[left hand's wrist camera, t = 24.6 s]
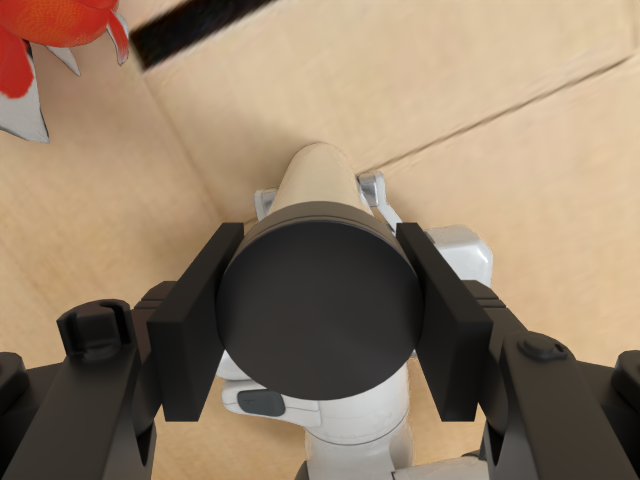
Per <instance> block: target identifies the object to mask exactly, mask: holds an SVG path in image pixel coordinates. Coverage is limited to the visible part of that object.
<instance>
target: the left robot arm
mask: <svg viewBox="0 0 640 480" xmlns="http://www.w3.org/2000/svg"><path fill="white" fill-rule="evenodd" d="M395 238H396V239H397V240H398V242H399V244H400V245H401V247H402V249H403V251H404V253H405V254H406V256H407V258H408V260H409V262H410V264H411V265H412V267H413V269H414V271H415V273H416V275H417V276H418V279H419V282H420V284H421V287H422V291H423V296H424V302H425V311H424V320H423V328H422V333H421V336H420V339H419V341H418V343H417V346H416V348H415V351H416V354H417V357H418V359H419V362H420V365H421V367H422V370H423V373H424V375H425V378H426V381H427V383H428V386H429V389H430V391H431V394H432V397H433V399H434V402H435V405H436V407H437V410H438V413H439V415H440V418H441V421H442V422H474V420H475V415H476V410H477V405H478V402H479V404H480V406H481V408H482V410H483V412H484V414H485V416H486V422H485V427H484V432H483V436H482V441H481V446H480V451H479V457H478V460H481V461H483V460H484V456H485V453H486V458H487V465H488V473H489V480H640V351H639V350H631V351H624V352H623V353H622V354H620V355H619V356H618V359H617V362H616V365H615V368H612V367H607V366H602V365H596V364H591V363H586V362H581V361H577V360H576V359H575V357H574V355H573V354H572V352H571V351H570V350H569V349H568V348H567V347H566V346H565V345H563V344H562V343H560V342H559V341H557V340H556V339H553V338H551V337H549V336H546V335H544V334H540V333H536V332H532V331H528V330H527V329H526V328H525V327H524V325H523V324H522V323H521V322H520V321H519V320H518V319H517V318H516V316H515V315H514V314H513V313H512V312H511V311H510V310H509V309H508V308H506V305H505V304H504V303H503V302H502V301H501V300H499V297H498V296H497V295H496V294H495V293H494V292H493V291H492V290H491V289H490V288H489V287H487V286H486V285H484V284H482V283H480V282H479V281H477V280H461V279H460V278H459V277H458V275H457V274H456V273H455V271H454V270H453V269H452V268H451V266H450V265H449V264H448V262H447V261H446V260H445V259H444V257H443V256H442V255H441V253H440V252H439V251H438V250H437V248H436V247H435V246H434V244H433V243H432V242H431V241H430V239H429V238H428V237H427V235H426V234H425V233H424V231H423V230H422V229H421V228H420V226H419V225H418V224H417V223H396V235H395ZM243 239H244V225H243V223H222V225H221V226H220V227H219V229H218V230H217V231H216V232H215V234H214V235H213V236H212V238H211V239H210V240H209V241H208V243H207V244H206V245H205V247H204V248H203V249H202V251H201V252H200V253H199V254H198V256H197V257H196V258H195V260H194V261H193V262H192V263H191V265H190V266H189V267H188V269H187V270H186V271H185V272H184V274H183V275H182V276H181V278H180V279H179V280H178V281H163V282H162V283H160V284H158V285H157V286H155V287H153V288H151V289H150V290H149V291H148V292H147V293H146V294H145V295H144V297H143V298H142V299H141V301H139V302H138V303H137V304H136V306H135V307H134V309H132V310H130V305H129V304H128V303H126V302H125V301H123V300H117V299H102V300H97V301H92V302H88V303H85V304H82V305H80V306H77V307H74V308H73V309H71V310H69V311H67V312H66V313H64V314H63V315H62V316H61V317H60V318H59V319H58V320H57V321H56V322H57V325H58V328H59V332H60V335H61V338H62V341H63V345H64V348H65V351H66V355H67V356H66V357H65V359H64V361H63V362H61V363H57V364H52V365H47V366H42V367H37V368H32V369H27V370H26V369H25V366H24V363H23V360H22V357H20V356H19V355H18V354H16V353H11V352H0V480H151V474H152V466H153V459H154V451H155V444H156V437H157V434H156V427H155V422H154V417H155V416H156V414H157V412H158V410H159V408H160V406H161V404H162V406H163V411H164V416H165V421H166V422H198V420H199V417H200V415H201V412H202V409H203V407H204V404H205V401H206V399H207V396H208V393H209V391H210V388H211V385H212V383H213V380H214V377H215V375H216V372H217V369H218V367H219V364H220V361H221V359H222V356H223V354H224V351H225V348H224V346H223V344H222V342H221V339H220V337H219V333H218V330H217V322H216V313H215V300H216V295H217V290H218V287H219V284H220V281H221V278H222V276H223V274H224V272H225V270H226V269H227V267H228V265H229V263H230V261H231V259H232V258H233V256H234V254H235V252H236V250H237V248H238V247H239V245H240V243H241V241H242V240H243Z"/></svg>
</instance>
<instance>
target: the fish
mask: <svg viewBox="0 0 640 480" xmlns="http://www.w3.org/2000/svg"><path fill="white" fill-rule="evenodd" d="M118 5H119V0H0V130H3V131H6V132H8V133H10V134H13V135H15V136H17V137H20V138H22V139H24V140H29V141H36V142H43V143H49V135H48V131H47V128H46V125H45V122H44V119H43V116H42V113H41V109H40V102H39V95H38V88H37V82H36V76H35V70H34V63H33V57H32V50H31V46H30V43H29V41H31V42H34V43H37V44H42V45H45V46H46V47H47V48H48V49H49V50H50V51H51V52H52V53H53V54H55V55H56V56H57V57H58V58H59V59H60V60H62V61H63V62H64V63H65V64H66V65H67V66H68V67H69V68H70V69H71V70H72V71H73V72H74V73H75V74H76V75H78V76H80V72H79V69H78V67H77V64H76V61H75V59H74V56H73V55H72V53H71V51H70V49H69V48H68V47H74V46H80V45H84V44H88V43H90V42H92V41H94V40H95V39H97V38H98V37H100V36H101V35H102V34H103V33H104V32H105V31H106V30H107V31H108V33H109V35H110V37H111V38H112V40H113V42H114V44H115V46H116V51H117V61H118V64H119V65H120V66H122V64H123V63H124V62H125V61H126V60H127V59H128V53H129V51H128V27H127V22H126V20H125V19H124V18H123V17H122V16H120V15H119V14H118V13H117V9H118Z"/></svg>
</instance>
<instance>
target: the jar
mask: <svg viewBox="0 0 640 480" xmlns="http://www.w3.org/2000/svg"><path fill="white" fill-rule="evenodd" d="M309 201H331V202H339V203H343V204H347V205H351V206H353V207H356V208H358V209H361V210H363V211H365V212H367V213H368V214H370V215H372V216H374V215H373V213H372V210H371V208H370V206H369V204H368V202H367V199H366V197H365V195H364V193H363V191H362V189H361V186H360V184H359V182H358V180H357V178H356V175H355V173H354V171H353V169H352V167H351V165H350V162H349V160H348V159H347V157H346V156H345V154H344V153H343V152H342V151H340V150H339V149H338V148H336V147H334V146H332V145H329V144H325V143H315V144H311V145H308V146H306V147H304V148H302V149H301V150H299V151H298V152H297V153H296V154H295V156H294V157H293V158H292V160H291V162H290V164H289V167H288V169H287V171H286V173H285V175H284V177H283V180H282V182H281V184H280V186H279V188H278V190H277V193H276V195H275V197H274V199H273V201H272V204H271V206H270V208H269V210H268V212H267V214H266V216H268V215H270V214H271V213H273V212H275V211H277V210H279V209H282V208H284V207H286V206H290V205H293V204H297V203H302V202H309Z"/></svg>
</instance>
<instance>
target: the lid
mask: <svg viewBox="0 0 640 480" xmlns="http://www.w3.org/2000/svg"><path fill="white" fill-rule="evenodd" d="M424 311H425V302H424V296H423V291H422V287H421V284H420V282H419V279H418V276H417V275H416V273H415V271H414V269H413V267H412V265H411V264H410V262H409V260H408V258H407V256H406V254H405V253H404V251H403V249H402V247H401V245H400V244H399V242H398V240H397V239H396V238H395V236H394V235H393V234H392V232H391V231H390V230H389V229H388V228H387V227H386V226H385V225H384V224H383V223H382V222H380V221H379V220H378V219H376V218H375V217H374V216H372V215H370V214H368V213H367V212H365V211H363V210H361V209H358V208H356V207H353V206H351V205H347V204H343V203H339V202H331V201H309V202H302V203H297V204H293V205H290V206H286V207H284V208H282V209H279V210H277V211H275V212H273V213H271V214H270V215H268V216H266V217H265V218H263V219H262V220H261V221H260V222H258V223H257V224H256V225H255V226H254V227H253V228H252V229H251V230H250V231H249V232H248V233H247V234H246V236H245V237H244V239H243V240H242V241H241V243H240V245H239V247H238V248H237V250H236V252H235V254H234V256H233V258H232V259H231V261H230V263H229V265H228V267H227V269H226V270H225V272H224V274H223V276H222V278H221V281H220V284H219V287H218V290H217V295H216V300H215V313H216V322H217V330H218V333H219V337H220V339H221V342H222V344H223V346H224V348H225V350H226V351H227V353H228V355H229V356H230V358H231V359H232V360H233V362H234V363H235V364H236V365H237V366H238V368H239V369H241V370H242V371H243V372H244V373H245V374H246V375H247V376H248V377H250V378H251V379H252V380H254V381H255V382H256V383H258V384H260V385H262V386H263V387H265V388H267V389H269V390H271V391H274V392H276V393H278V394H282V395H285V396H288V397H292V398H297V399H302V400H312V401H328V400H338V399H343V398H348V397H352V396H355V395H358V394H361V393H364V392H366V391H368V390H371V389H373V388H375V387H376V386H378V385H380V384H382V383H383V382H385V381H386V380H387V379H389V378H390V377H391V376H393V375H394V374H395V373H396V372H397V371H398V370H399V369H400V368H401V367H402V366H403V365H404V364H405V363H406V361H407V360H408V359H409V357H410V356H411V354H412V353H413V351H414V349H415V348H416V346H417V343H418V341H419V339H420V336H421V333H422V328H423V320H424Z"/></svg>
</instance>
